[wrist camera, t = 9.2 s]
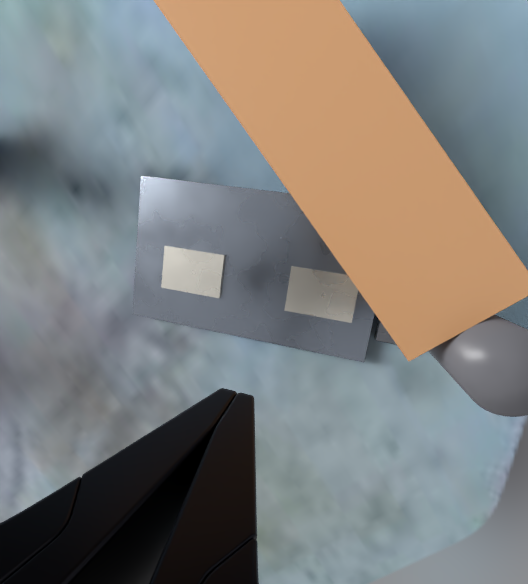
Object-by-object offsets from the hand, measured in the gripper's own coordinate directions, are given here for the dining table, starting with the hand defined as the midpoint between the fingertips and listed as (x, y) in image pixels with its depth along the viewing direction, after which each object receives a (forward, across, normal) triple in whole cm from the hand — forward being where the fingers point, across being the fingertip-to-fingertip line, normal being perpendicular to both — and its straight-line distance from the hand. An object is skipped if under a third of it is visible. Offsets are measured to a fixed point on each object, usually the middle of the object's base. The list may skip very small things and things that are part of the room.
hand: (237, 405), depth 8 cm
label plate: (+14, +4, +1) cm, 15 cm away
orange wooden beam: (+15, 0, -5) cm, 16 cm away
